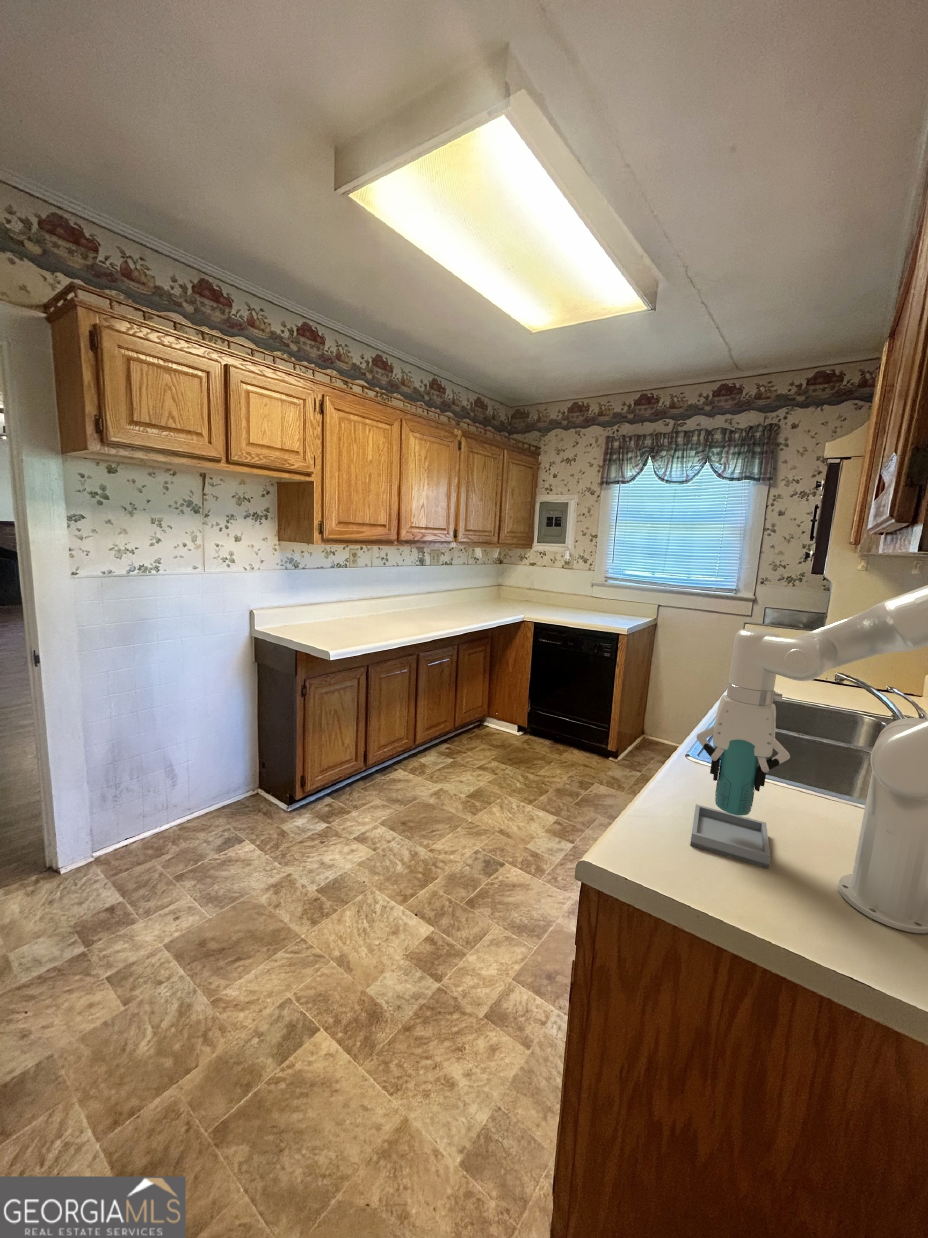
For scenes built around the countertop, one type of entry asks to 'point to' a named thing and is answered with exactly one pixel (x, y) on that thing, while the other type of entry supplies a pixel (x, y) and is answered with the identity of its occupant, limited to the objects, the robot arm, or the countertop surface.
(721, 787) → the beverage bottle
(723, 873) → the countertop surface
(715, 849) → the tray
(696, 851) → the countertop surface
